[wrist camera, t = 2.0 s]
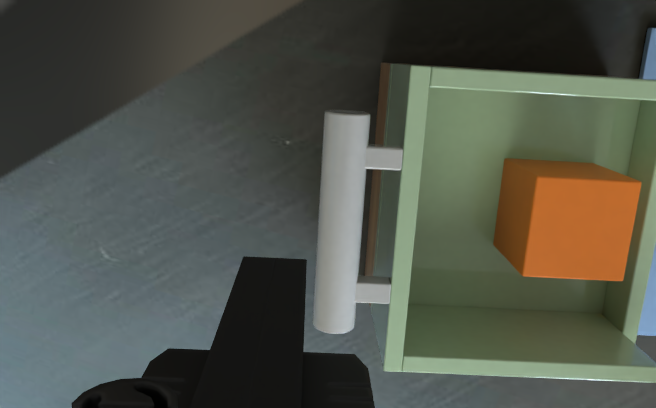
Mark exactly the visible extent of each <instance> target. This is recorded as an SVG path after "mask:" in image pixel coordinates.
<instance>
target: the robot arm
mask: <svg viewBox="0 0 656 408" xmlns="http://www.w3.org/2000/svg"><path fill="white" fill-rule="evenodd" d="M306 263H307V260H305V259H284V258H263V257H243V260H242V263H241V265H240V268H239V271H238V274H237V276H236V279H235V282H234V285H233V288H232V290H231V293H230V296H229V299H228V302H227V304H226V307H225V310H224V313H223V316H222V318H221V321H220V324H219V327H218V329H217V332H216V335H215V338H214V341H213V343H212V346H211V349H210V350H193V349H167V350H166V351H164V352H163V353H162V354H160V355H159V356H157V357H156V358H154V359H153V360H152V361H150V363H149V365H148V367H147V368H146V370H145V372H144V374H143V376H142V378H132V379H119V380H115V381H111V382H107V383H103V384H100V385H98V386H95V387H93V388H91V389H89V390H87V391H85V392H83V393H82V394H81V395H80V396H79V397H78V398H77V399H76V400H75V401H74V402H73V403H72V408H375V406H374V401H373V394H372V389H371V383H370V377H369V372H368V368H367V367H366V366H365V365H364V364H363V363H362V362H361V361H360V359H359V358H358V357H357V356H356V355H355V354H335V353H311V352H303V345H304V318H305V290H306Z"/></svg>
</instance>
